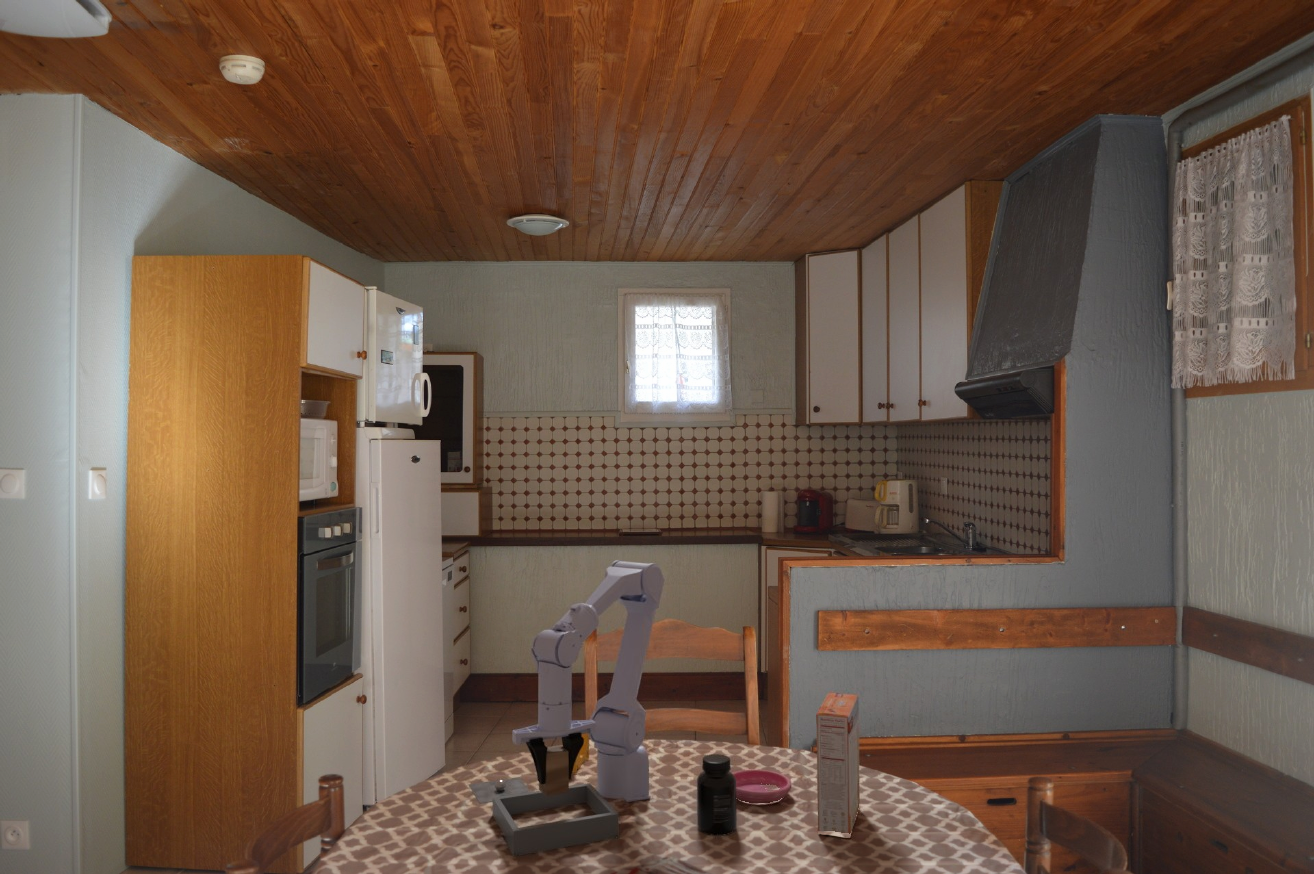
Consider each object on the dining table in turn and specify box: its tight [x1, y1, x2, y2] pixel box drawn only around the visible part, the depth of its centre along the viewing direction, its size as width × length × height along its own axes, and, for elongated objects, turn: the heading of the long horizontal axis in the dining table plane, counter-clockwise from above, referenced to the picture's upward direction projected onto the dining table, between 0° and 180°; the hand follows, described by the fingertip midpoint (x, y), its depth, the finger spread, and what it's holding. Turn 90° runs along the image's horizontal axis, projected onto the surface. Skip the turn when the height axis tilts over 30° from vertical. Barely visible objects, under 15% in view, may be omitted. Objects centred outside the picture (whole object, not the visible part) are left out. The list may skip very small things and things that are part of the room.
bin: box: [492, 782, 620, 857], centre depth 152 cm, size 18×15×4 cm
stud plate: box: [468, 776, 531, 805], centre depth 167 cm, size 10×10×3 cm
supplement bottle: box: [696, 753, 738, 836], centre depth 153 cm, size 7×7×12 cm
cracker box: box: [815, 692, 861, 834], centre depth 156 cm, size 14×6×21 cm, turn 160°
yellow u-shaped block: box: [572, 733, 590, 774], centre depth 183 cm, size 12×4×6 cm, turn 172°
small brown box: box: [538, 745, 570, 796], centre depth 153 cm, size 4×4×7 cm
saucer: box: [731, 769, 792, 803], centre depth 168 cm, size 12×12×3 cm
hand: (554, 780), depth 152 cm, fingers closed on small brown box, 4 cm apart
